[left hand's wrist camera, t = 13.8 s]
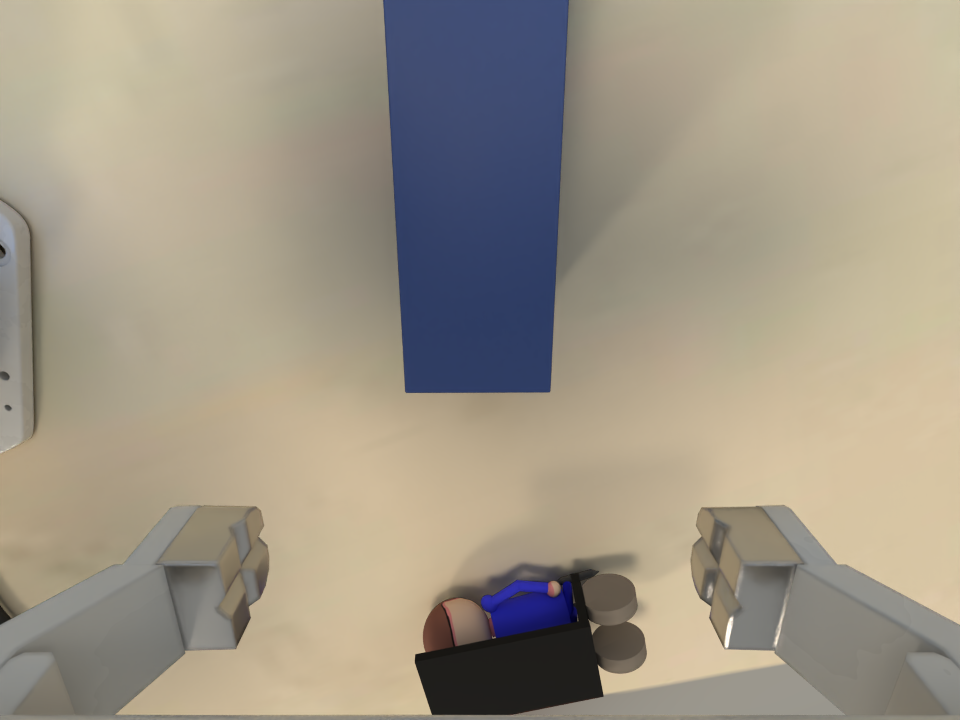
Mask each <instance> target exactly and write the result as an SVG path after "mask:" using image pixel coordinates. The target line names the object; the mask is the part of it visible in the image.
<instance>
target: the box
mask: <svg viewBox="0 0 960 720" xmlns="http://www.w3.org/2000/svg"><path fill="white" fill-rule="evenodd" d="M383 4H384V21H385V39H386V57H387V75H388V93H389V111H390V128H391V146H392V164H393V182H394V200H395V218H396V236H397V253H398V271H399V289H400V307H401V325H402V343H403V360H404V378H405V392H406V393H505V392H550V388H551V367H552V346H553V325H554V303H555V282H556V261H557V239H558V218H559V197H560V176H561V154H562V133H563V112H564V91H565V69H566V48H567V27H568V5H569V0H383Z"/></svg>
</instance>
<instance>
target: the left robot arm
mask: <svg viewBox="0 0 960 720" xmlns="http://www.w3.org/2000/svg"><path fill="white" fill-rule="evenodd" d="M0 245H1V246H3V247H4V249H5V251H6V255H5V254H3V253H2V251H1V250H0V454H1V453H3V452H6V451H8V450H10V449H12V448H14V447H16V446H18V445H20V444H22V443H23V442H25V441H27V440H28V439H30V438H31V437H32V435H33V430H34V399H33V350H32V301H31V253H30V232H29V228H28V225H27V223H26V222H25V220H24V219H23V218H22V216H21V215H20V214H19V213H17V212H16V211H15V210H14V209H13V208H11V207H10V206H9V205H7V204H6V203H4V202H3V201H1V200H0ZM263 527H264V523H263V518H262V514H261V510H260V509H258V508H257V507H252V506H206V505H204V506H200V505H177V506H174V507H171V508H170V509H169V510H168V511H167V512H166V513H165V514H164V516H163V517H162V518H161V519H160V520H159V522H158V523H157V524H156V525H155V526H154V528H153V529H152V530H151V531H150V532H149V534H148V535H147V536H146V537H145V538H144V540H143V541H142V542H141V543H140V544H139V546H138V547H137V548H136V549H135V550H134V552H133V553H132V554H131V555H130V556H129V558H128V559H127V560H126V561H125V562H124V564H123V565H112V566H110V567H108V568H107V569H105V570H103V571H101V572H99V573H97V574H95V575H93V576H91V577H90V578H88V579H86V580H84V581H82V582H80V583H78V584H76V585H74V586H73V587H71V588H69V589H67V590H65V591H63V592H61V593H59V594H57V595H56V596H54V597H52V598H50V599H48V600H46V601H44V602H42V603H40V604H39V605H37V606H35V607H33V608H31V609H29V610H27V611H25V612H23V613H22V614H20V615H18V616H16V617H14V618H12V619H11V618H10V617H9V616H8V615H7V613H6V612H5V611H4V610H3V609H2V607H1V606H0V720H960V625H959V624H957V623H955V622H953V621H951V620H950V619H948V618H946V617H944V616H942V615H940V614H938V613H936V612H934V611H933V610H931V609H929V608H927V607H925V606H923V605H921V604H919V603H917V602H916V601H914V600H912V599H910V598H908V597H906V596H904V595H902V594H901V593H899V592H897V591H895V590H893V589H891V588H889V587H887V586H885V585H884V584H882V583H880V582H878V581H876V580H874V579H872V578H870V577H868V576H867V575H865V574H863V573H861V572H859V571H857V570H855V569H853V568H852V567H850V566H848V565H837V564H836V562H835V561H834V560H833V559H832V558H831V556H830V555H829V554H828V553H827V552H826V550H825V549H824V548H823V547H822V546H821V544H820V543H819V542H818V541H817V540H816V538H815V537H814V536H813V535H812V534H811V532H810V531H809V530H808V529H807V528H806V526H805V525H804V524H803V523H802V522H801V521H800V519H799V518H798V517H797V516H796V515H795V513H794V512H793V511H792V510H791V509H790V508H789V507H787V506H785V505H768V506H756V507H701V509H700V511H699V513H698V517H697V523H696V527H697V529H698V530H699V532H700V534H701V536H702V537H701V538H700V539H699V540H698V541H697V542H696V543H695V544H694V545H693V546H692V554H691V571H692V578H693V582H694V585H695V588H696V590H697V593H698V595H699V597H700V599H702V600H703V601H704V602H706V603H707V604H708V605H710V606H711V612H710V617H709V618H710V620H711V623H712V625H713V627H714V629H715V631H716V633H717V635H718V637H719V639H720V641H721V643H722V645H723V647H724V649H737V650H773V651H775V654H776V655H777V656H779V657H780V658H781V659H782V660H783V661H784V662H786V663H787V664H788V665H789V666H790V667H791V668H792V669H794V670H795V671H796V672H797V673H798V674H799V675H800V676H802V677H803V678H804V679H805V680H806V681H807V682H809V683H810V684H811V685H812V686H813V687H814V688H815V689H817V690H818V691H819V692H820V693H821V694H822V695H824V696H825V697H826V698H827V699H828V700H829V701H830V702H832V703H833V704H834V705H835V706H836V707H837V708H838V709H840V710H841V711H842V712H843V713H844V714H845V715H115V714H116V713H117V712H118V711H119V710H121V709H122V708H123V707H124V706H125V705H126V704H127V703H129V702H130V701H131V700H132V699H133V698H134V697H136V696H137V695H138V694H139V693H140V692H141V691H142V690H144V689H145V688H146V687H147V686H148V685H149V684H151V683H152V682H153V681H154V680H155V679H156V678H157V677H159V676H160V675H161V674H162V673H163V672H164V671H166V670H167V669H168V668H169V667H170V666H171V665H172V664H174V663H175V662H176V661H177V660H178V659H179V658H181V657H182V656H183V655H184V654H185V651H187V650H222V649H236V648H237V645H238V643H239V641H240V639H241V637H242V635H243V633H244V631H245V629H246V627H247V625H248V623H249V620H250V618H251V617H250V612H249V606H250V605H252V604H253V603H254V602H256V601H257V600H258V599H260V597H261V595H262V593H263V590H264V588H265V586H266V581H267V577H268V572H269V553H268V546H267V545H266V544H265V543H264V542H263V541H262V540H261V539H260V538H259V537H258V536H259V534H260V532H261V530H262V529H263Z"/></svg>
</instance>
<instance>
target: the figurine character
mask: <svg viewBox="0 0 960 720" xmlns="http://www.w3.org/2000/svg"><path fill="white" fill-rule="evenodd" d="M598 572H599V571H595V570H587V571H583V572H580V573H575V574H570V575H569V576H565V577H561V578H560V579H559V580H558V581H557V582H556V581H550V582H549V583H548V582H536V581H522V580H516V581H515V582H513V583H512V584H510V585H509V586H507V587H506V588H504V589H503V590H501V591H500V592H498V593H497V594H495V595H493V596H491V595H485V596H483V597H482V599H481V605H482V607H483V609H484V610H485V611H487V612H489V613H491V618H489V619H488V617H487V615H486V614H485V612H484V611H483V610H482V609H481V607H479V606H478V605H477V604H476V603H474V602H472V601H470V600H468V599H464V598H451V599H448V600H445V601H443V602H441V603H440V604H438V605H437V606H436V607H435V608H434V609H433V610H432V611H431V613H430V614H429V616H428V618H427V620H426V623H425V626H424V631H423V643H424V648H425V651H426V652H425V653H420V654H415V664H416V667H417V670H418V673H419V676H420V679H421V683H422V686H423V689H424V692H425V695H426V698H427V701H428V704H429V707H430V710H431V713H432V715H513V714H518V713H523V712H528V711H533V710H539V709H544V708H549V707H554V706H559V705H564V704H569V703H574V702H578V701H584V700H589V699H594V698H599V697H603V691H602V685H601V680H600V675H599V669H598V665H599V666H600V667H601V668H602V669H604V670H606V671H608V672H612V673H618V674H622V673H628V672H632V671H634V670H636V669H638V668H639V667H640V666H641V665H642V664H643V663H644V661H645V659H646V655H647V651H646V645H645V638H644V634H643V633H642V631H641V630H640V629H639V628H638V627H637V626H635V625H634V624H632V623H629V622H626V621H627V620H629V619H630V618H631V617H632V616H633V615H634V614H635V612H636V610H637V599H636V592H635V587H634V585H633V583H632V582H631V581H630V580H629V579H627V578H625V577H623V576H621V575H617V574H602V575H598V576H595V575H596V574H597V573H598ZM594 576H595V577H594ZM588 578H590V579H589V580H587V581H586V582H585V583H584V584H583V585H582V587H581V582H580V581H581V580H585V579H588ZM571 583H572V585H571ZM560 585H563V592H562V589H561V586H560ZM572 587H573V592H574V598H575V603H574V604H573V595H572ZM519 591H523V592H532V593H529V594H525V595H521V596H518V597H514V598H510V597H512V596H513V595H515V594H516V593H518V592H519ZM509 598H510V599H509ZM577 614H578V620H579V621H578V622H577ZM588 619H589V620H590V621H592V622H594V623H596V624H600V625H601V626H600V627H598V628H597V629H596V630H595V632H594V633H593V635H592V632H591V627H590V624H589V620H588ZM492 636H493V637H495V636H496V638H494V639H492Z"/></svg>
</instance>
